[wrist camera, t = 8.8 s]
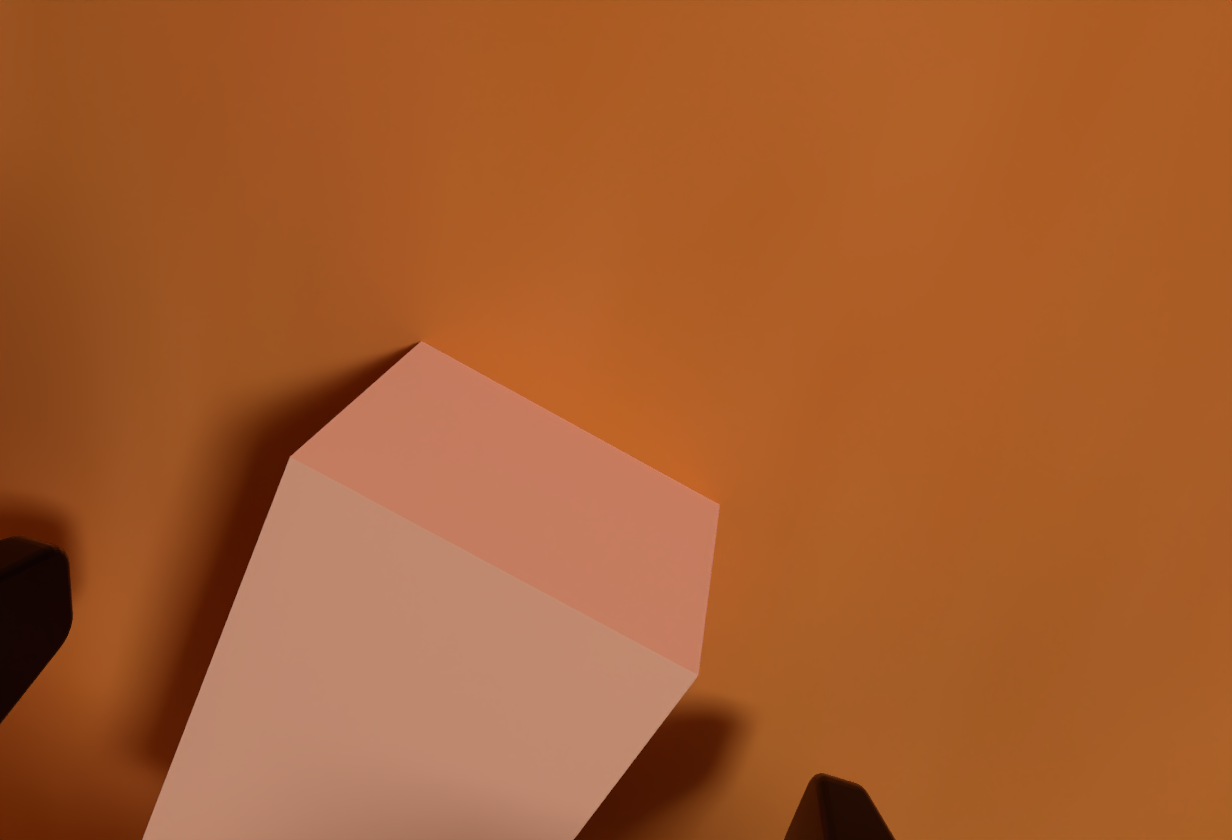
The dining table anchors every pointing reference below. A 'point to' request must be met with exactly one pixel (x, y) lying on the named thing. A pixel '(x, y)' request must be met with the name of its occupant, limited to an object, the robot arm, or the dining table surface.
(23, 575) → the robot arm
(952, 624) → the dining table surface
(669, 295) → the dining table surface
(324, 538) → the pink rectangular block
